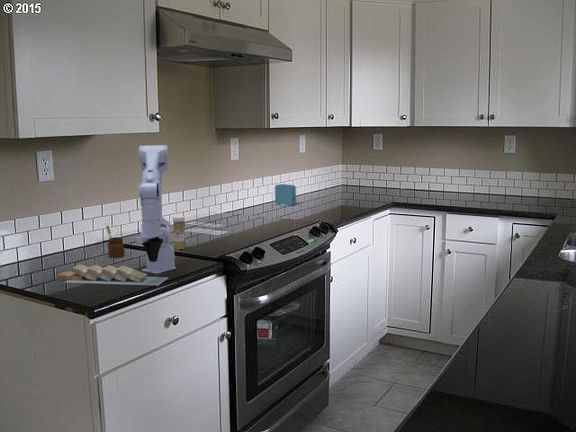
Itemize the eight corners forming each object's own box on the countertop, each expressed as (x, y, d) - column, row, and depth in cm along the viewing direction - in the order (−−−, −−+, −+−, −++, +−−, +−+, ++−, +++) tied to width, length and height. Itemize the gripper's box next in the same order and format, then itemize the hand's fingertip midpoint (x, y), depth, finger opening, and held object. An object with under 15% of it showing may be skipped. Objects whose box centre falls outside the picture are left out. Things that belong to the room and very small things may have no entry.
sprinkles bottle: (173, 250, 255) (172, 217, 253) (174, 248, 259) (173, 215, 257) (185, 250, 256) (184, 216, 253) (185, 247, 260) (184, 215, 258)
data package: (296, 205, 379) (295, 185, 377) (292, 206, 375) (291, 185, 373) (279, 203, 385) (278, 184, 383) (275, 204, 381) (274, 184, 380)
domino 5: (147, 274, 209) (123, 265, 210) (141, 278, 204) (116, 269, 205) (145, 278, 210) (121, 269, 210) (139, 282, 205) (115, 273, 206)
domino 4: (132, 273, 210) (108, 265, 211) (126, 277, 205) (102, 268, 206) (131, 278, 210) (107, 269, 211) (125, 282, 206) (100, 273, 206)
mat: (169, 278, 211) (169, 277, 211) (158, 286, 201) (158, 285, 201) (79, 275, 216) (78, 274, 216) (64, 283, 206) (64, 282, 206)
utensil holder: (120, 258, 242) (118, 227, 240) (105, 257, 243) (103, 226, 242) (127, 254, 248) (125, 224, 246) (112, 254, 249) (110, 224, 247)
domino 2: (103, 272, 212) (80, 263, 213) (96, 276, 207) (72, 267, 208) (102, 277, 212) (78, 268, 213) (95, 281, 207) (71, 271, 208)
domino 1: (88, 272, 213) (64, 271, 214) (81, 275, 208) (57, 275, 209) (89, 276, 213) (65, 276, 214) (82, 280, 208) (57, 280, 209)
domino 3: (118, 273, 211) (94, 264, 212) (111, 277, 206) (87, 268, 207) (116, 277, 211) (93, 269, 212) (110, 281, 206) (86, 272, 207)
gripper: (153, 215, 211) (155, 255, 214) (126, 222, 198) (129, 265, 200) (171, 216, 209) (173, 257, 211) (145, 223, 196) (148, 267, 198)
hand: (153, 261), depth 205 cm, fingers closed
